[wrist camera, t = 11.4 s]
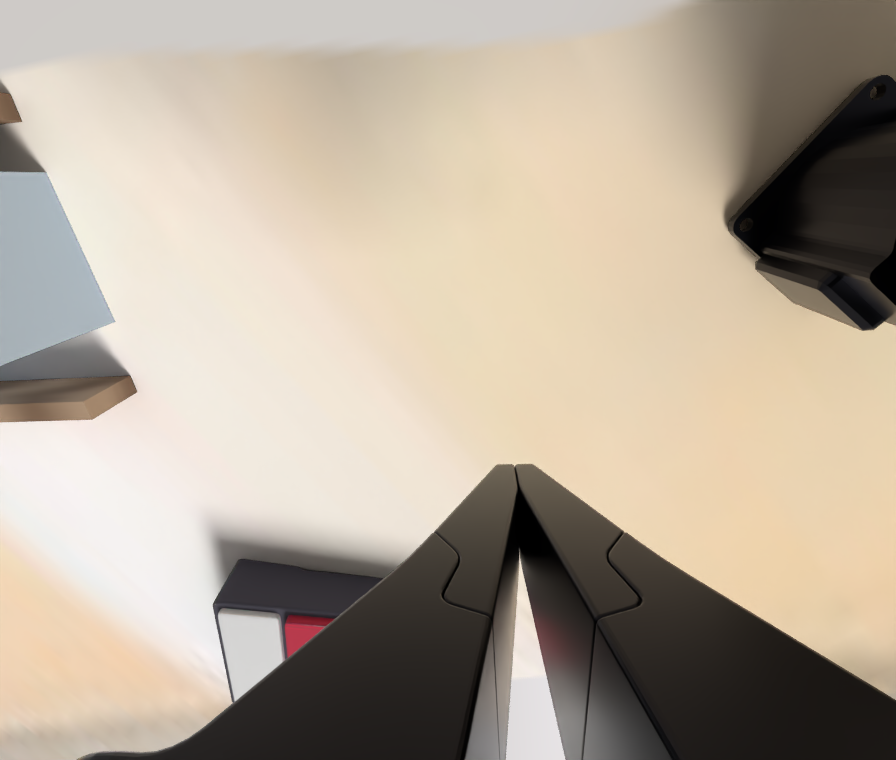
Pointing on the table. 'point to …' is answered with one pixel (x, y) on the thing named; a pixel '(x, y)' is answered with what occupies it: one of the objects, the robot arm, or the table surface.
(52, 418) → the frame
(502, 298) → the table surface
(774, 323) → the table surface
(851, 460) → the table surface
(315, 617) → the calculator
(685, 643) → the robot arm
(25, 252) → the slate box
